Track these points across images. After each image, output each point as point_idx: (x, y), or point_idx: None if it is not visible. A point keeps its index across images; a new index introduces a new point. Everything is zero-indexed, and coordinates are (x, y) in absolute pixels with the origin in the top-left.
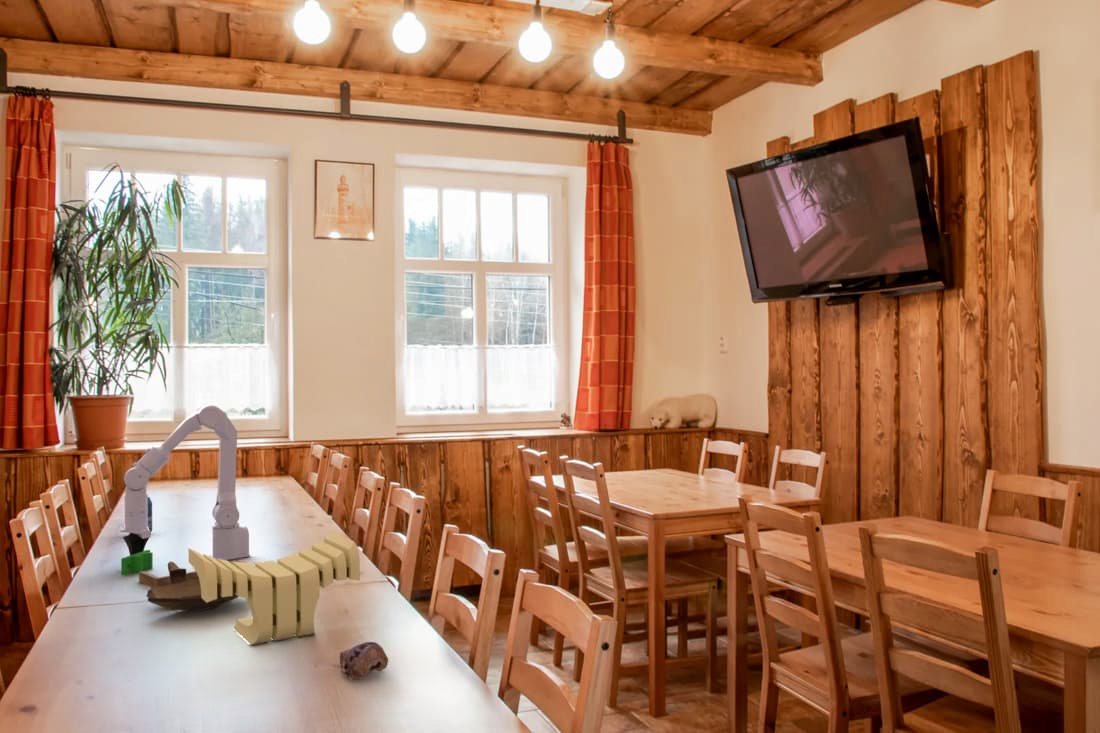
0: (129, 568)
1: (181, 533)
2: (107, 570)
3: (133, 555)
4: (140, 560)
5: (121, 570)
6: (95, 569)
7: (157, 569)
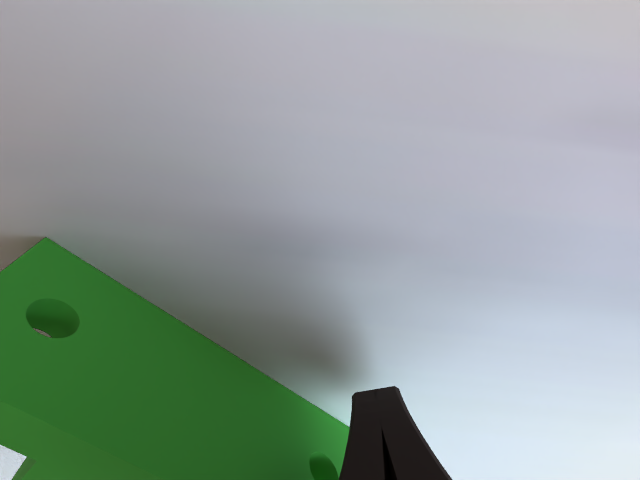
0: (60, 333)
1: None
2: (370, 151)
3: (88, 475)
4: (18, 472)
5: (15, 261)
6: (525, 36)
7: None
